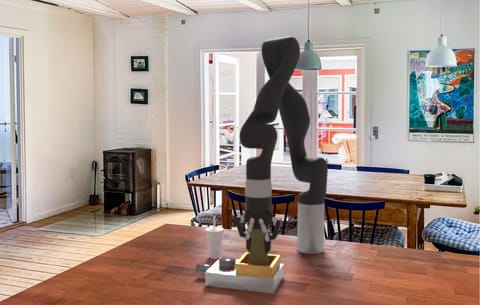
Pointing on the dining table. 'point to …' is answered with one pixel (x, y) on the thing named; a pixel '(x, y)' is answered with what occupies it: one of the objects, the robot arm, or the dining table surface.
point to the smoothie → (214, 240)
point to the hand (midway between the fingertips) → (258, 251)
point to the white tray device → (243, 274)
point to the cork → (257, 248)
